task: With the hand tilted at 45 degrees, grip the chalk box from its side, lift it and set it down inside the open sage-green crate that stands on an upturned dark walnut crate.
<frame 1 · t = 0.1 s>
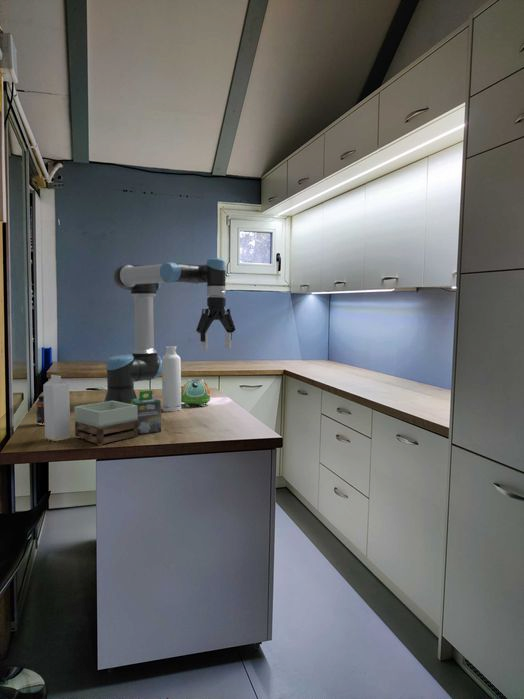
hand: (216, 349, 207), 28 cm above the table, tool pointing down, fingers open, 13 cm apart
lower crate: (106, 437, 174), on the table
milk: (57, 439, 172), on the table
supplement bottle: (45, 424, 194), on the table
chalk box: (146, 431, 184), on the table
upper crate: (106, 420, 174), resting on lower crate
bottle: (172, 410, 223), on the table
turtle holder: (192, 405, 233), on the table
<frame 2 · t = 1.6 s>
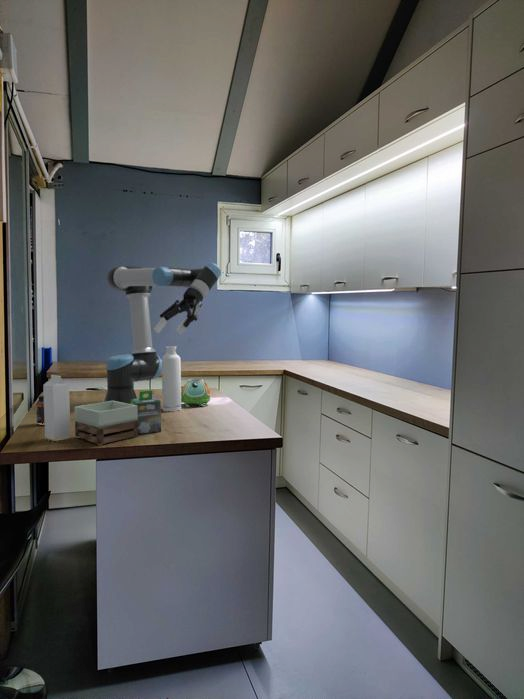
hand: (166, 332, 193), 36 cm above the table, tool tilted 45°, fingers open, 13 cm apart
nothing on the table moved.
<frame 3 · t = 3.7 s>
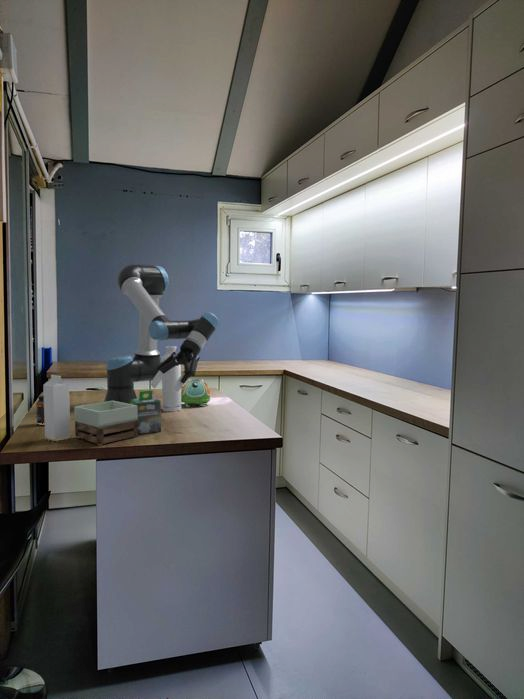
hand: (163, 387, 188), 15 cm above the table, tool tilted 45°, fingers open, 13 cm apart
nothing on the table moved.
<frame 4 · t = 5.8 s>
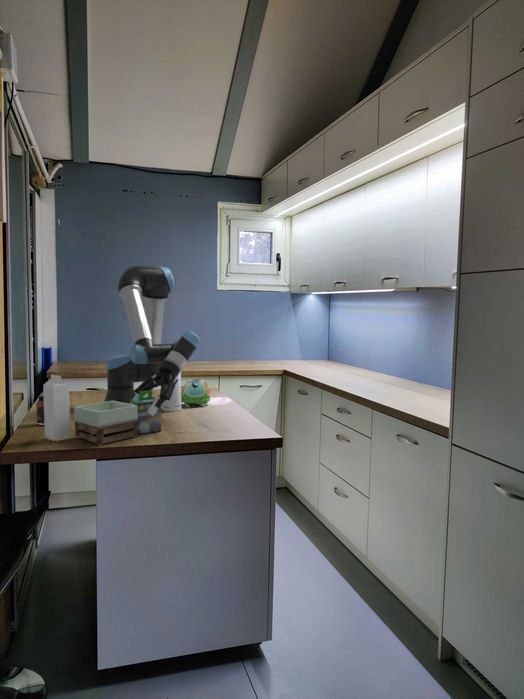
hand: (139, 411, 182), 7 cm above the table, tool tilted 45°, fingers closed on chalk box, 11 cm apart
chalk box: (145, 431, 184), on the table, touching gripper
everything else where it was.
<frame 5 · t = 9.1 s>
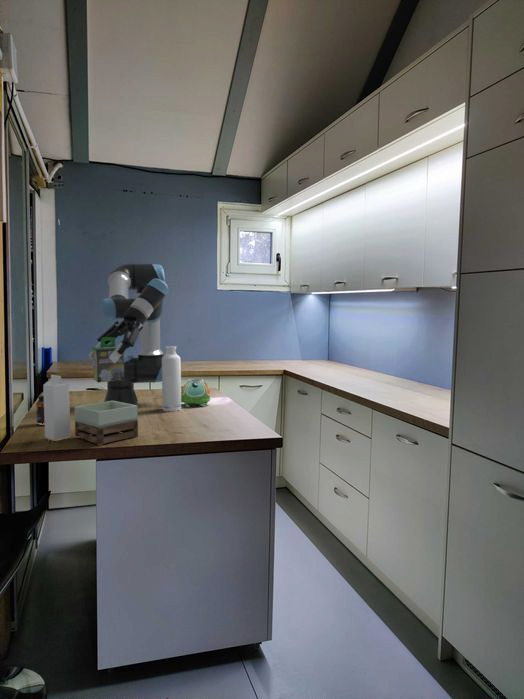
hand: (101, 359, 170), 27 cm above the table, tool tilted 45°, fingers closed on chalk box, 11 cm apart
chalk box: (108, 380, 173), point 20 cm above the table, touching gripper
everything else where it was.
when the fingers open (15 cm above the table, at t = 12.1 s): chalk box stays where it is, resting on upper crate.
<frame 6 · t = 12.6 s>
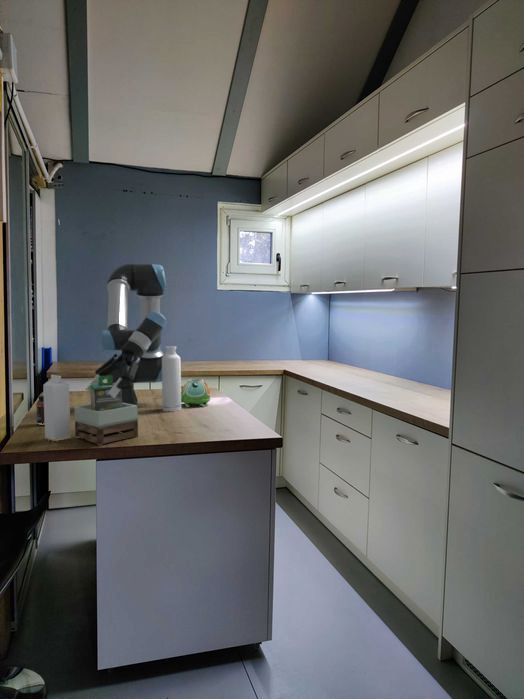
hand: (99, 393, 171), 16 cm above the table, tool tilted 45°, fingers open, 13 cm apart
chalk box: (106, 418, 174), point 7 cm above the table, touching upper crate
everything else where it was.
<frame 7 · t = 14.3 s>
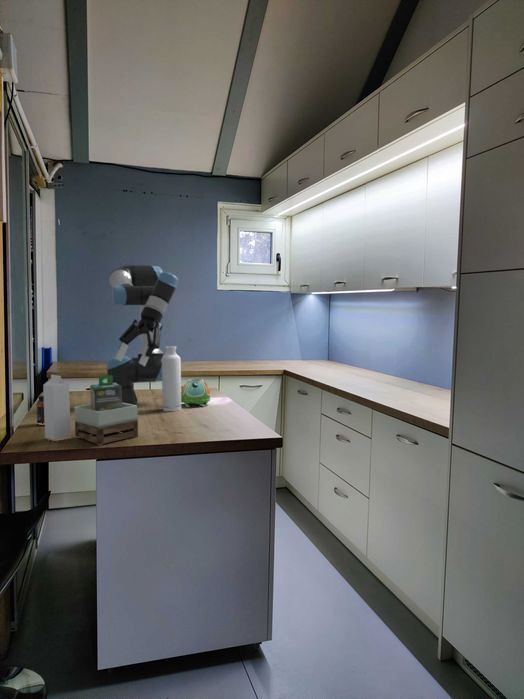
hand: (129, 362, 181), 25 cm above the table, tool tilted 30°, fingers open, 13 cm apart
nothing on the table moved.
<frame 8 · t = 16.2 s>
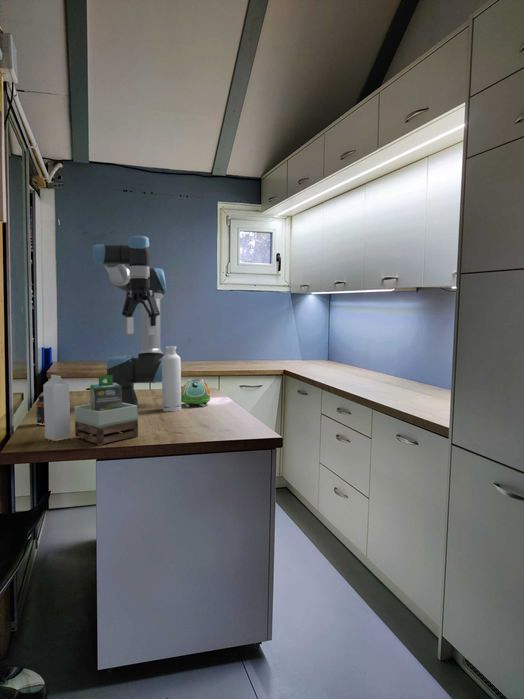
hand: (140, 334, 191), 35 cm above the table, tool pointing down, fingers open, 13 cm apart
nothing on the table moved.
at the end: chalk box inside the target area on the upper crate (0.1 cm from its centre), point 0.6 cm above the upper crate's base; chalk box tilted 0°; the gripper is holding nothing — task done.
